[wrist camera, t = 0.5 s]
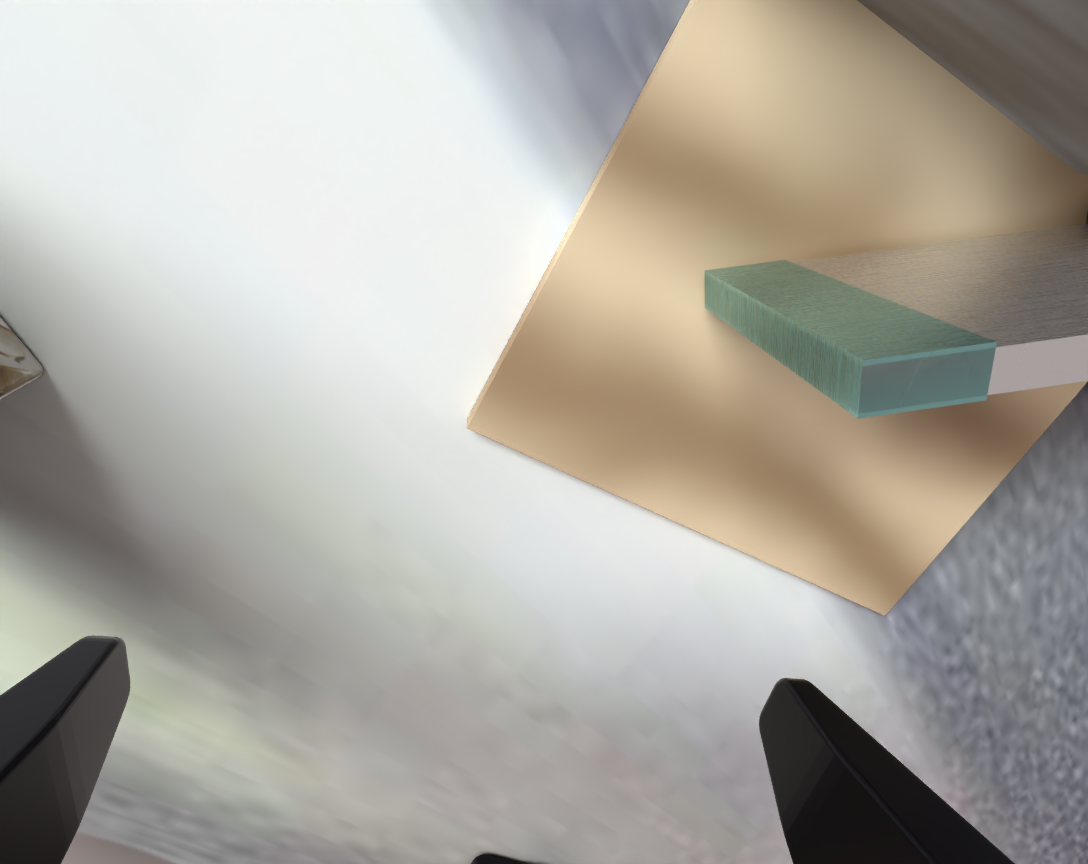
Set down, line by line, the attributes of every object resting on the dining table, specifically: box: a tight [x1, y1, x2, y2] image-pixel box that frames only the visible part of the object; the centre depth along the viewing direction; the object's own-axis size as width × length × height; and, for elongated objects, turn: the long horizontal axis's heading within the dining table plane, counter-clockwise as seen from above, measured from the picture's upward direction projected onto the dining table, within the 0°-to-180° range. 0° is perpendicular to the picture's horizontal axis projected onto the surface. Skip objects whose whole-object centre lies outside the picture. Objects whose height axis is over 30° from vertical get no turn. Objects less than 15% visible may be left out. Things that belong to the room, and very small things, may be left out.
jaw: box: [704, 210, 1088, 419], centre depth 16 cm, size 2×13×9 cm, turn 96°
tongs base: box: [467, 0, 1088, 616], centre depth 17 cm, size 18×19×10 cm
